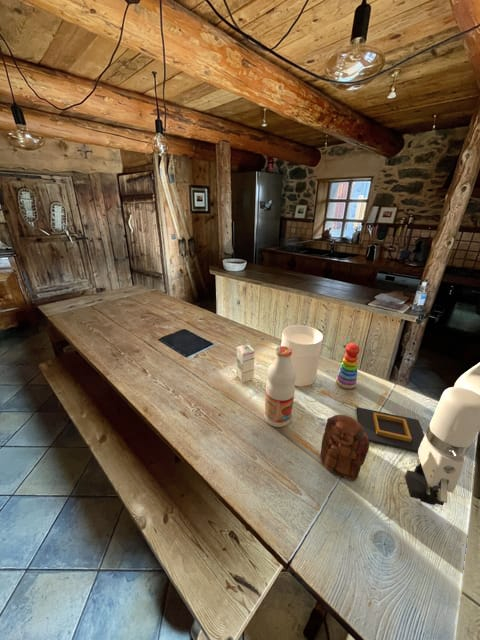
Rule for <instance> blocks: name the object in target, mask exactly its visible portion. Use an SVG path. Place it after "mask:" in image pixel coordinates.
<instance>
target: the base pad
mask: <svg viewBox="0 0 480 640" xmlns="http://www.w3.org/2000/svg"><path fill="white" fill-rule="evenodd" d="M356 420H357V421H358V422H359V423H360V425H361V426H362V428H363V429H364V432H365V433H366V435H367V437H368V439H369V443H373V444H376V445H377V444H378V445H382V446H386V447H391V448H394V449H398V450H403V451H406V452H411V453H415V454H418V450H419V447H420V444H421V442H422V440H423V438H424V436H425V433H424V431H423V428H422V425H421V422H420V420H419V419H417V418H412V417H406V416H402V415H399V414H393V413H388V412H384V411H378V410H373V409H369V408H364V407H359V406H356Z"/></svg>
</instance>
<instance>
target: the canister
mask: <svg viewBox="0 0 480 640" xmlns="http://www.w3.org/2000/svg"><path fill="white" fill-rule="evenodd" d="M323 338H324V335H323V333H322V332H321V331H320V330H319V329H316V328H315V327H312V326H309V325H304V324H294V325H289V326H286V327H285V328H284V329H283V330H282V333H281V344H280V346H287V347H289V348H291V350H292V355H291V357H290V360H291V363H292V365H293V367H294V368H295V370H296V379H295V381H294V385H295V387H307V386H311V385H312V384H314V382H316V379H317V374H318V368H319V362H320V357H321V350H322V345H323Z"/></svg>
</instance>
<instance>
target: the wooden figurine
mask: <svg viewBox="0 0 480 640" xmlns="http://www.w3.org/2000/svg"><path fill="white" fill-rule="evenodd" d="M369 448H370V442H369V439H368V437H367V435H366V433H365V432H364V429H363V428H362V426H361V425H360V423H359V422H358V419H356V418H354V417H352V416H350V415H348V414H334V415H332V417H328V418H327V419H326V424H325V426H324V433H323V436H322V440H321V446H320V455H319V456H320V461H321V464H322V466H323V467H324V469H326V470H327V472H329V473H334V474H335V475H337V476H338V477H340V478H343V479H344V478H346V479H348V480H350V481H351V482H355V481H356V480H357V478H358V476H359V474H360V472H361V468H362V466H363V465H364V464H365V461H366V458H367V455H368V453H369V450H370V449H369Z"/></svg>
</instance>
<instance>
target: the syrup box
mask: <svg viewBox="0 0 480 640" xmlns="http://www.w3.org/2000/svg"><path fill="white" fill-rule="evenodd" d="M255 351H256V350H255V348H253V347H252V346H251V344H249V343H247V344H241V345H240V346H236V376H237V377H238V379H239V380H240V381H241V383H246V382H249V381H252V380H254V379H255V358H256V357H255V356H256V355H255V353H256V352H255Z"/></svg>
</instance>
